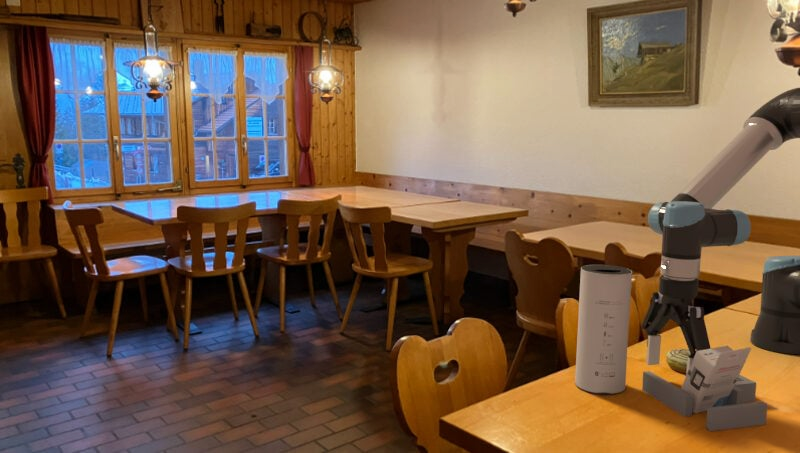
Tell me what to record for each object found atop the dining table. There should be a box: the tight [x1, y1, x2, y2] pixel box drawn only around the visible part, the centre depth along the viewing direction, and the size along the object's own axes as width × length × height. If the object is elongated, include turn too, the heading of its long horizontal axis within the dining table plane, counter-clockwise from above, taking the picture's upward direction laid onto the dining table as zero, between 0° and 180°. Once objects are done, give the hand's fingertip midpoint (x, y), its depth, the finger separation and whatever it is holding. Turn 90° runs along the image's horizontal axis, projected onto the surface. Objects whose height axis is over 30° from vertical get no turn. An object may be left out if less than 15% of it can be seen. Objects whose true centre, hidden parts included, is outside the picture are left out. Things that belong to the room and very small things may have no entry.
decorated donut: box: [665, 348, 696, 374], centre depth 157 cm, size 10×11×4 cm
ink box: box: [680, 345, 752, 414], centre depth 133 cm, size 8×5×15 cm, turn 114°
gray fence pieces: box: [641, 370, 768, 432], centre depth 137 cm, size 18×21×4 cm
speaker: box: [574, 264, 633, 396], centre depth 145 cm, size 11×10×26 cm
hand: (671, 375), depth 144 cm, fingers open, 13 cm apart
